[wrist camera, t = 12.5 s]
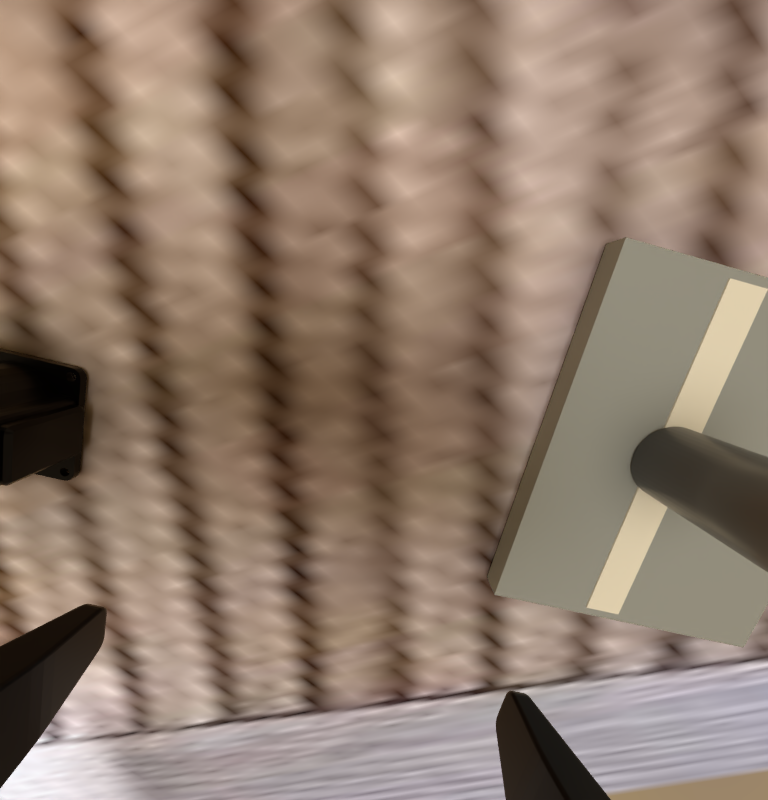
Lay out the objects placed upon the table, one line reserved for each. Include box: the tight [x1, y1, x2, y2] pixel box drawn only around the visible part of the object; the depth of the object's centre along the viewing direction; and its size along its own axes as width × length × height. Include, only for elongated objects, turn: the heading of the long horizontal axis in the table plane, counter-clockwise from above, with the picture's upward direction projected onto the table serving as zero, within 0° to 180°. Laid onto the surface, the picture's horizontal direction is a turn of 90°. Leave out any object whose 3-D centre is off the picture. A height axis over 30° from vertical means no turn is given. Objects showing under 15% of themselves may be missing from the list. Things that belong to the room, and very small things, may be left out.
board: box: [487, 238, 768, 647], centre depth 20 cm, size 16×20×2 cm
